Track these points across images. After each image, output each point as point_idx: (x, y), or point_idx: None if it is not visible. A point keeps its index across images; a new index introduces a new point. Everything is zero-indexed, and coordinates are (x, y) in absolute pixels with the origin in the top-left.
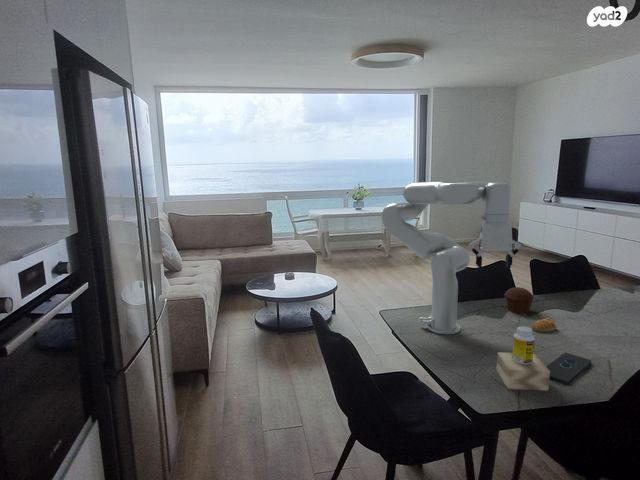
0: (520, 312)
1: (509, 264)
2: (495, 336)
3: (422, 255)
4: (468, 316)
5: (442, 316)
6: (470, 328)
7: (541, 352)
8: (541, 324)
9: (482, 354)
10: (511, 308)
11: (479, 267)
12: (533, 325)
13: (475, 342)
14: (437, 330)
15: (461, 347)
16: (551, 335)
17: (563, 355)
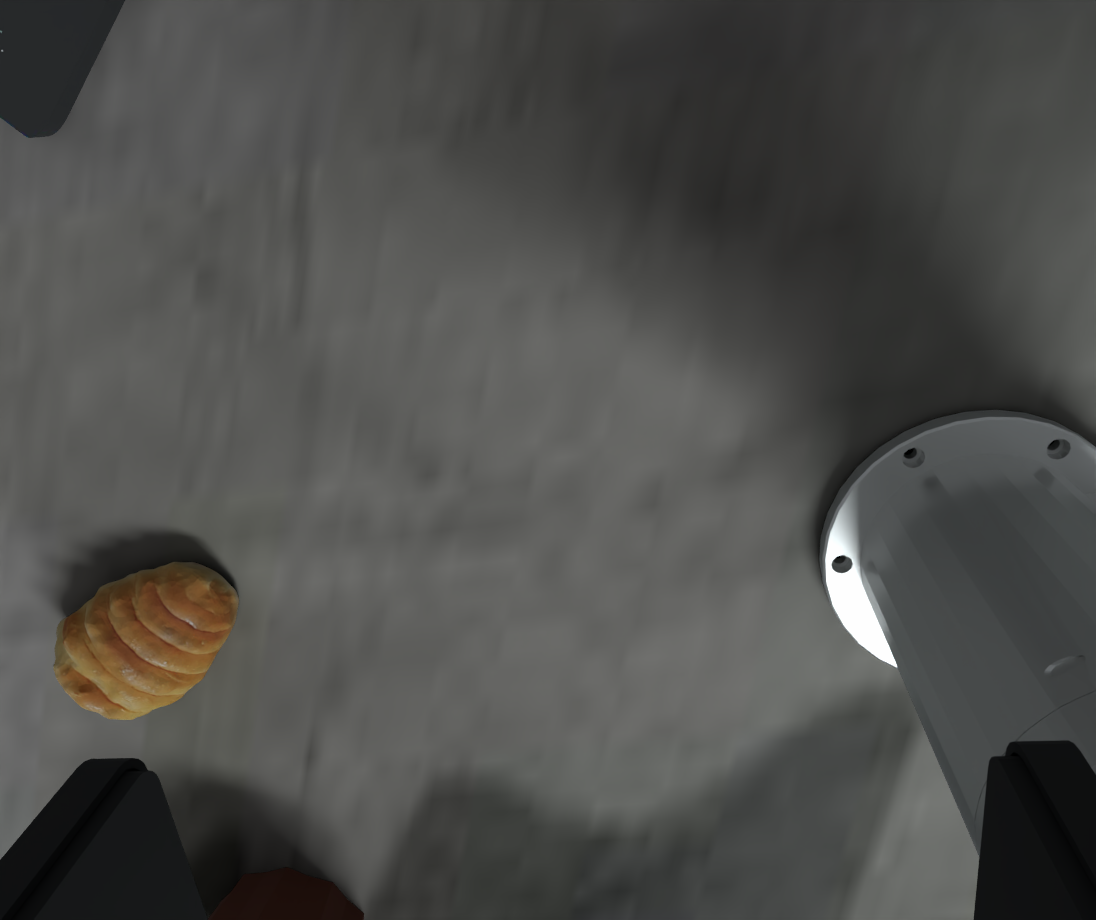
0: (280, 875)
1: (55, 834)
2: (542, 436)
3: None
4: (685, 797)
5: (1084, 518)
6: (721, 571)
7: (223, 166)
8: (152, 616)
9: (737, 15)
10: (335, 915)
11: (1069, 743)
12: (215, 615)
13: (743, 283)
14: (1071, 441)
15: (903, 144)
16: (114, 512)
17: (55, 72)
